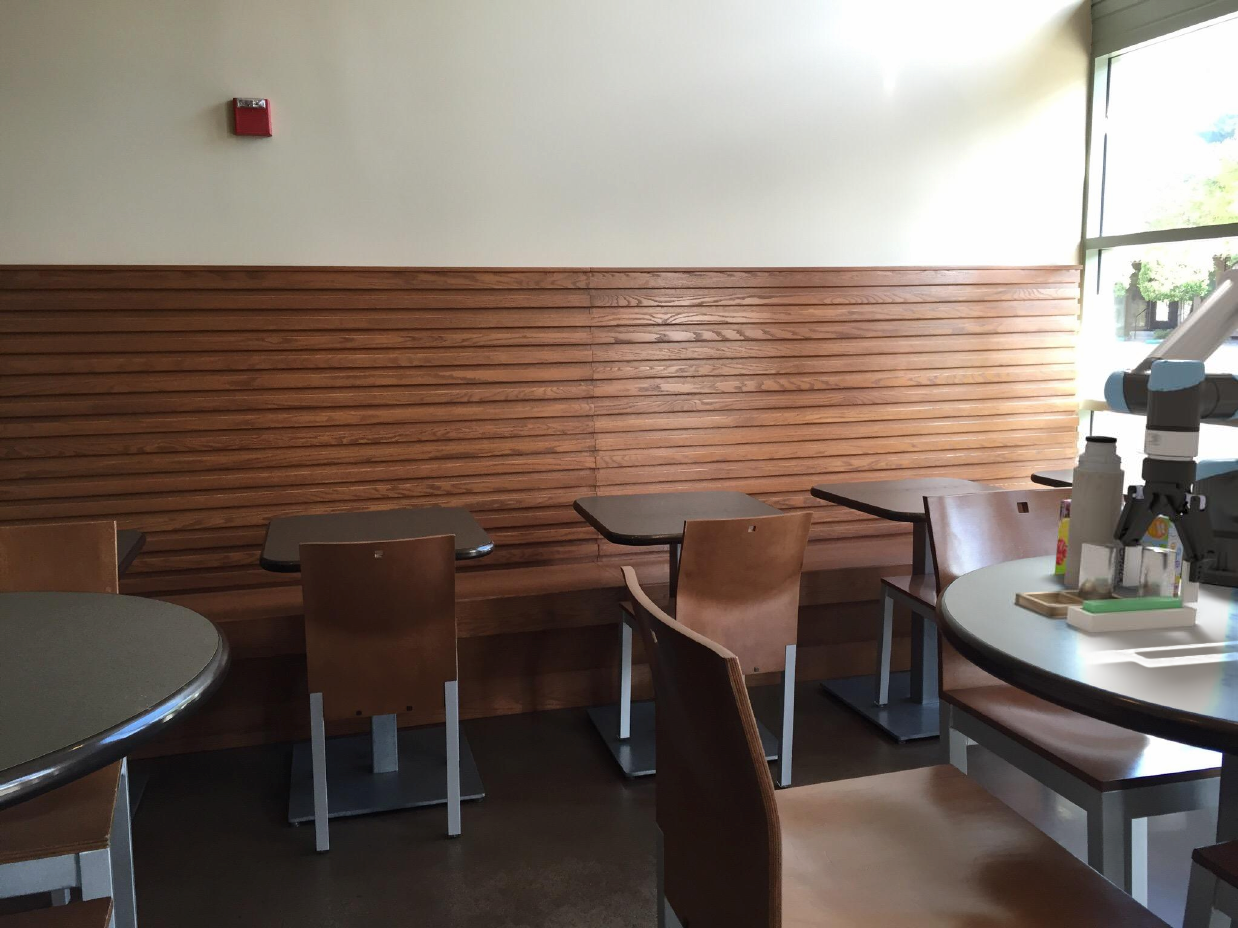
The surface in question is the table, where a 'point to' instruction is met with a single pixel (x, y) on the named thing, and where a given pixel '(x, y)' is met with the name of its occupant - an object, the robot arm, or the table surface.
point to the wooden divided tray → (1052, 601)
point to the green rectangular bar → (1132, 604)
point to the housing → (1130, 619)
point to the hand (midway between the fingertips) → (1158, 593)
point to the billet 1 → (1097, 571)
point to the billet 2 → (1157, 572)
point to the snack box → (1156, 536)
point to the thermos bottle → (1094, 502)
